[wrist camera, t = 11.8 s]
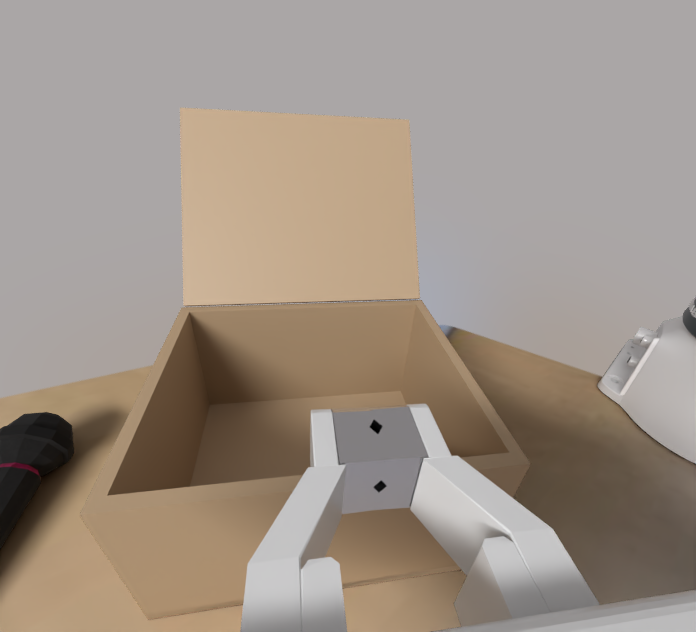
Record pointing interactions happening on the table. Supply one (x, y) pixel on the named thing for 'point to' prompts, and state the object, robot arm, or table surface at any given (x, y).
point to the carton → (276, 445)
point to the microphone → (29, 461)
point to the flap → (296, 208)
